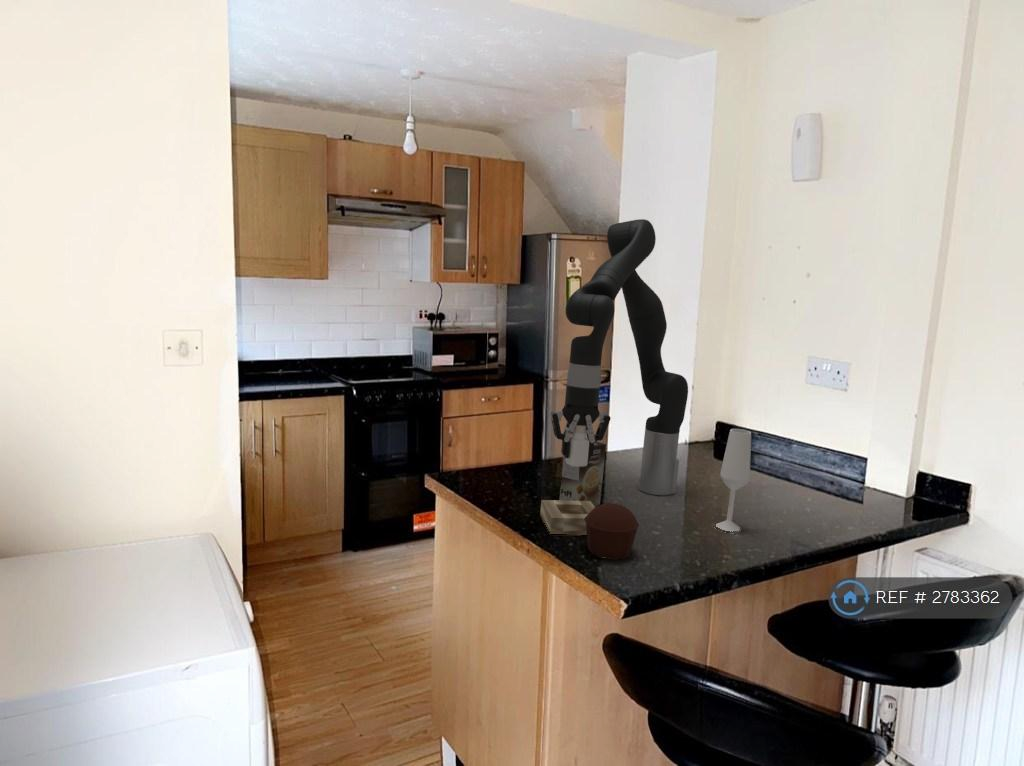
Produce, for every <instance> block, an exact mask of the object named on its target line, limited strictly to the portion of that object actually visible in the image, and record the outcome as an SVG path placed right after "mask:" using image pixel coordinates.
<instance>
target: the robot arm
mask: <svg viewBox="0 0 1024 766" xmlns="http://www.w3.org/2000/svg"><path fill="white" fill-rule="evenodd" d="M656 237H657V236H656V231H655V228H654V225H653V224H652V222H651V221H650V220H648V219H644V218H643V219H642V218H641V219H640V218H639V219H633V220H628V221H623V222H616V223H614V224H613V223H612V224H611V225H610V226H608V228H607V233H606V241H607V246H608V251H609V254H610V258H609V259H607V260H606V261H605V262H603V263H602V264H601V265H600V266H599V267H598V268H597V269H596V271H595V272H594V274H593V276H592V277H591V278H590V280H589V281H588V282H586V283H584V284H583V285H582V286H581V287H579V288H578V289H576V290H575V291H574V292H572V294H571V295H570V296H569V298H568V300H567V301H566V305H565V316H566V319H567V320H568V321H569V322H570V323H571V324H573V325H576V326H585V327H592V328H593V329H592V331H591V332H590V334H589V335H584V336H583V335H582V336H580V335H579V336H576V337H574V338H572V341H571V344H570V351H569V352H570V353H569V354H570V356H569V365H568V370H567V375H566V386H565V387H566V388H565V397H564V405H563V408H562V409H561V410H560V411H556V412H555V411H551V412H550V414H549V415H550V419H551V426H552V430H553V434H554V436H555V437H556V439H557V440H561V451H560V452H561V455H562V456H563V458H564V457H565V458H569V448H570V442H569V440H570V437H572V433H573V432H574V429H575V427H576V425H582V426H586V429H587V430H586V438H587V439H588V440H589V451H588V459H590V456H593V451H594V443H595V442H596V441H597V442H600V441H602V440H603V439H604V438H605V433H606V432H607V429H608V426H609V424H610V422H611V416H609V415H608V414H607V413H602V412H600V410H599V401H600V392H601V391H600V389H601V385H602V384H601V383H602V368H601V367H602V356H603V350H604V349H603V348H604V344H605V340H606V337H607V333H608V331H609V328H610V326H611V323H612V321H613V319H614V316H615V304H614V300H615V299H616V298H617V296H618V294H619V293H620V290H622V294H623V299H624V303H625V307H626V312H627V316H628V321H629V324H630V329H631V331H632V332H631V333H632V335H633V336H632V337H633V340H634V344H635V348H636V352H637V353H636V354H637V357H638V358H637V359H638V363H639V368H640V369H639V370H640V377H641V384H642V390H643V394H644V396H645V398H646V399H647V400H648V401H649V402H650V403H653V404H656V405H659V409H658V413H657V415H654V416H649V417H647V419H646V421H645V428H644V437H643V438H644V439H643V447H642V455H641V456H642V457H641V465H640V473H639V476H640V477H639V480H638V481H639V484H638V489H639V490H640V491H641V492H644V493H646V494H650V495H654V496H670V495H676V492H677V491H676V489H677V484H678V483H677V482H678V481H677V480H678V474H679V463H680V460H679V459H678V456H677V455H678V447H679V438H680V431H681V427H682V424H683V422H684V420H685V413H686V408H687V401H688V398H689V397H688V396H689V384H688V381H687V379H686V378H685V377H684V375H681V374H678V373H674V372H669V371H666V369H665V367H664V363H663V359H662V345H663V342H664V339H665V337H666V333H667V328H668V326H667V325H668V324H667V318H666V315H665V309H664V306H663V302H662V300H661V299H660V296H658V294H656V293H657V292H655V291H654V290H653V289H652V288H651V287H650V286H649V284H647V283H646V282H645V281H644V280H643V279H642V278H641V276H640V275H639V273H638V272H637V270H636V269H637V268H638V267H640V266H641V264H642V263H643V262H644V261H646V259H647V258H648V257H649V256H650V255H651V253H652V252H653V251H654V249H655V246H656V239H657V238H656ZM562 417H564V419H565V420H566V424H565V426H564V429H563V433H562V430H561V425H560V422H561V421H562ZM597 419H598V422H599V424H598V427H597V428H596V431H594V427H593V424H594V423H595V422H596V420H597ZM594 433H595V434H594Z"/></svg>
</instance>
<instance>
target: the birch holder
mask: <svg viewBox="0 0 1024 766" xmlns="http://www.w3.org/2000/svg"><path fill="white" fill-rule="evenodd" d="M540 502H541V503H540V513H539V516H541V517H540V518H542V519H541V520H542V523H543V524H544V523H545V524H544V526H545V525H546V526H545V528H546V527H547V528H546V529H548V530H547V532H548V531H549V532H550V533H549V532H548V533H549V535H550V534H567V535H566V536H581V535H587V529H586V522H585V520H584V518H585V517H586V516H587V515H588V514H589V513H590V512H591V511H592V510H593V509H594V508H595V507H596V506H594V505H593V504H592V503H591V501H565V500H559V499H558V500H555V499H553V500H552V499H541V501H540Z"/></svg>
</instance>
